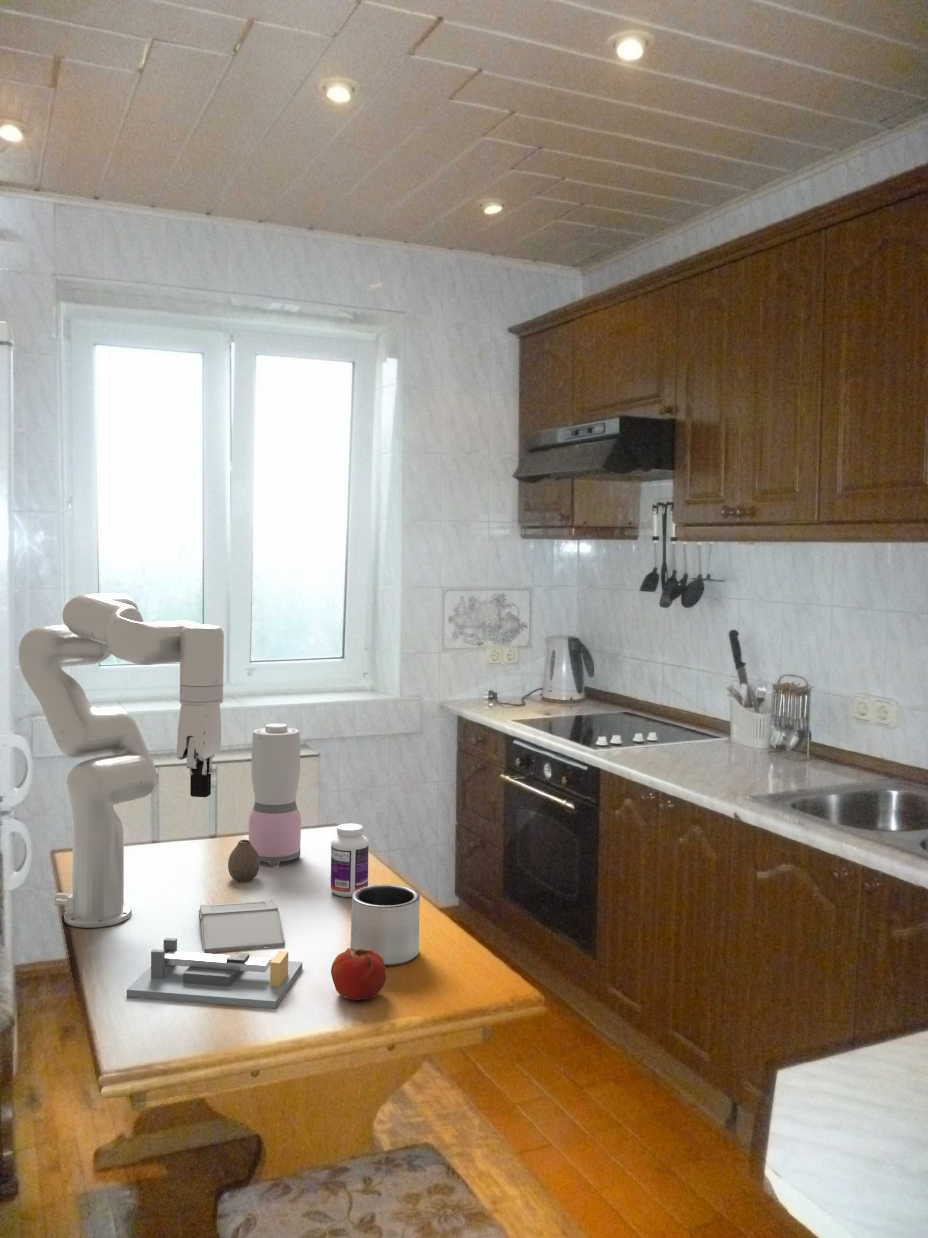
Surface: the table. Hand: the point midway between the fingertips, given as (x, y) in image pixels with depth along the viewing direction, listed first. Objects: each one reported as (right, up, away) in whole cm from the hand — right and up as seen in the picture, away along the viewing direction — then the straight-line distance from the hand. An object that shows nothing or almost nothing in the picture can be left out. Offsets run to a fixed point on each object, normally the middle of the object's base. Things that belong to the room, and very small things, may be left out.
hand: (200, 795), depth 185 cm
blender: (+3, -25, +61) cm, 66 cm away
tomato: (+30, -31, -13) cm, 45 cm away
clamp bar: (+5, -27, -10) cm, 29 cm away
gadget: (+4, -29, +16) cm, 33 cm away
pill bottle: (+22, -27, +38) cm, 52 cm away
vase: (-2, -26, +44) cm, 51 cm away
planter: (+33, -30, +4) cm, 45 cm away
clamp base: (+5, -30, -10) cm, 32 cm away
